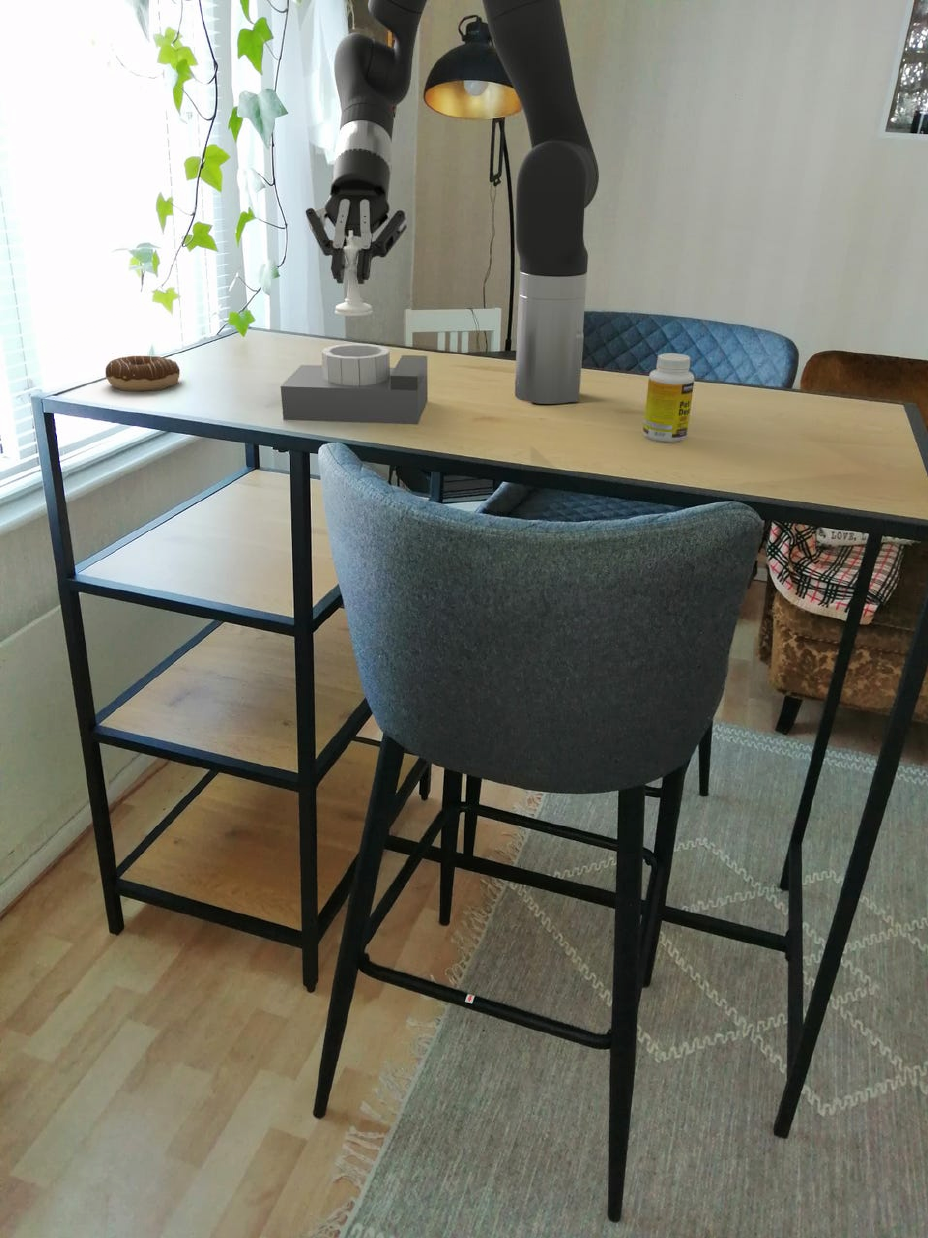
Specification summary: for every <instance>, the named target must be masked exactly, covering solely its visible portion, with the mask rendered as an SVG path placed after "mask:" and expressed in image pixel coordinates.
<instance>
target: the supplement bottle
mask: <svg viewBox="0 0 928 1238" xmlns="http://www.w3.org/2000/svg"><path fill="white" fill-rule="evenodd" d="M690 368H691V357H690V355H688V354H682V353H677V352H676V353H675V352H673V353H672V352H671V353H669V352H667V353H661V354H658V356H657V361H656V369H653V370H652V371H650V373H649V376H648V383H647V391H646V392H647V393H646V403H645V412H644V420H643V427H642V428H643V429H642V430H643V433H642V434H643V435H644V437H646V438H647V439H649V440H651V441H654V442H658V443H678V442H681V441H683V440H685V439H686V437H687V435H688V429H689V423H690V415H691V406H692V400H693V392H694V386H695V385H694V384H695V375H694V374H693V372H691V371H690Z"/></svg>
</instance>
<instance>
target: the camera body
mask: <svg viewBox="0 0 928 1238" xmlns="http://www.w3.org/2000/svg"><path fill="white" fill-rule="evenodd" d="M390 358H391V357H390V349H389V348H387V347H385V346H383V345H376V344H371V343H347V344H346V343H345V344H337V345H331V346H327V347H325V348H324V349H323V350H322V351H321V365H319V364H317V365H316V364H315V365H313V364H301V365H299V367H298V368H297V369H296V370H295V371H294V372H293V373H292V374H291V375H290V376H289V377H288V378H287V379H286V380H285V381H284V382H283V383H282V384H281V385H280V393H281V404H282V405H281V407H282V417H283V419H282V420H283V421H301V422H302V421H303V422H305V421H306V422H307V421H308V422H310V421H311V422H332V423H333V422H335V423H339V422H340V423H365V424H391V425H392V424H393V425H397V424H398V425H419V422H420V420H421V417H422V415H423V413H424V410H425V408H426V405H427V403H428V401H429V400H428V399H429V398H428V394H429V393H428V389H429V388H428V355H418V354H417V355H413V354H402V356H401V357H400V359H399V360H398V362H397V363H396V366H395V367H391V359H390Z"/></svg>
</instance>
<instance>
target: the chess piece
mask: <svg viewBox="0 0 928 1238" xmlns="http://www.w3.org/2000/svg"><path fill="white" fill-rule="evenodd" d="M354 240H355V237H354V235H353V231H349V236H348V241H349V245H348V246H345V247H344V252H345V254H346V255H345V259H346V262H347V264H345V266H344V269H345V270H347V271H348V281H347V292H346V293H347V294H346V298H344V302H342V303H339V304H337V305H335V314H336V315H339V316H344V317H346V316H347V317H361V316H362V317H363V316H369V315H372V314H373V312H374V311H373V306H372V305H371V304H368V303H366V302H363V298H361V295H360V289H359V284H358V280H357V275H356V272H357V261H358V253H359V250H360V246H358V245H356V244H354Z"/></svg>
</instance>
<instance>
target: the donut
mask: <svg viewBox="0 0 928 1238" xmlns="http://www.w3.org/2000/svg"><path fill="white" fill-rule="evenodd" d="M180 373H181V372H180V368H179V365H178V363H177V362H176V361H174V360H173V359H171V358H166V357H162V356H157V355H156V356H155V355H154V356H151V355H130V356H129V355H127V356H122V357H118V358H115V359H112V360H111V361H109V363H107V365H106V367H105V377H106V379H107V381H108V383H109V384H110V385H112V386H113V387H114V388H116V389H119V390H122V391H129V392H148V391H158V390H163V389H166V388H169V387H170V388H171V386H174V385H175V384H176V383H177V382H178V380H179V379H180Z"/></svg>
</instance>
